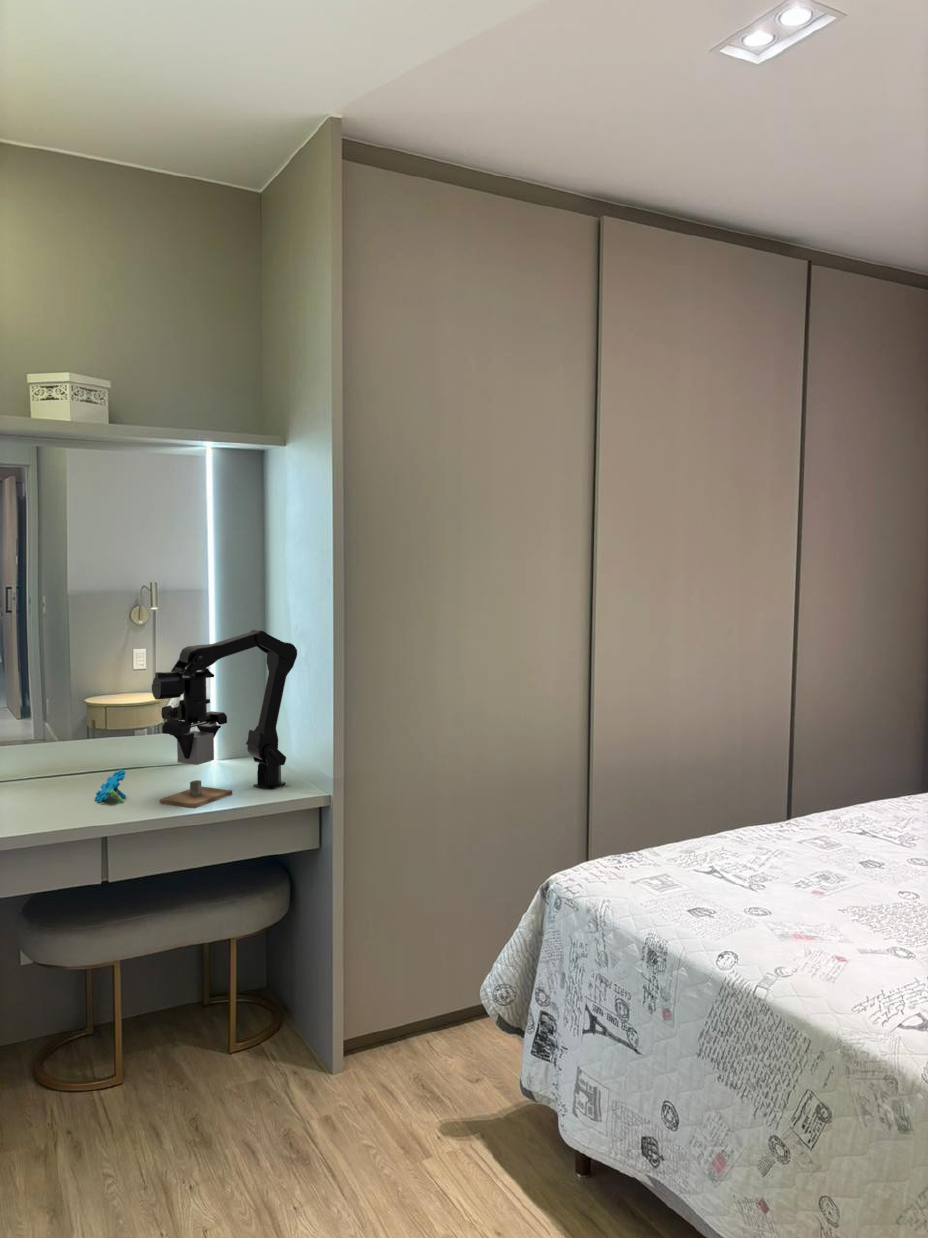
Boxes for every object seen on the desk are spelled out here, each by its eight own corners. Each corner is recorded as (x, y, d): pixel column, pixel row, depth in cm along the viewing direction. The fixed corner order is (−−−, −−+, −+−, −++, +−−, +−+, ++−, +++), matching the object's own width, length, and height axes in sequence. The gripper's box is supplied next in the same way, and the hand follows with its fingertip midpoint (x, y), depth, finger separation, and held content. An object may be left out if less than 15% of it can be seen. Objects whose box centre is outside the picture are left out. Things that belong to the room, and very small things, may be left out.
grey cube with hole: (194, 757, 251) (193, 730, 251) (214, 759, 249) (213, 732, 248) (177, 762, 245) (177, 734, 245) (197, 764, 243) (196, 737, 242)
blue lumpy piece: (92, 790, 249) (120, 762, 250) (109, 803, 252) (138, 776, 253) (92, 806, 239) (122, 777, 240) (110, 820, 241) (140, 791, 243)
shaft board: (198, 789, 257) (198, 773, 256) (232, 794, 252) (232, 777, 252) (159, 803, 243) (159, 785, 243) (194, 808, 238) (194, 790, 238)
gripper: (194, 688, 257) (195, 746, 259) (144, 698, 241) (145, 760, 242) (228, 691, 253) (228, 750, 254) (179, 702, 236) (180, 764, 237)
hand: (196, 756), depth 247 cm, fingers closed on grey cube with hole, 6 cm apart
